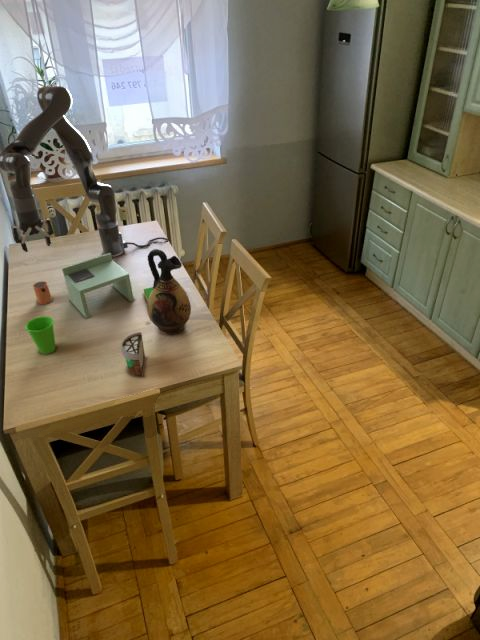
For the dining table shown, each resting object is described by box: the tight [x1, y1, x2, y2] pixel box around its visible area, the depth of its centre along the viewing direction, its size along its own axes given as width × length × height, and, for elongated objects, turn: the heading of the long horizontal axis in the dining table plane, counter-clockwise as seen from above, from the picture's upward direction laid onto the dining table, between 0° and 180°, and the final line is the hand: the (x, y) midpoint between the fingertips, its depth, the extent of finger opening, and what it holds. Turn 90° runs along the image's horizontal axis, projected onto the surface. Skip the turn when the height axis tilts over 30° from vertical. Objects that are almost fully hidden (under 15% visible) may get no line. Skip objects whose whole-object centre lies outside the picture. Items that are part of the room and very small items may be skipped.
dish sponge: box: [143, 286, 153, 302], centre depth 185 cm, size 7×14×2 cm, turn 22°
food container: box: [120, 331, 146, 377], centre depth 149 cm, size 12×6×10 cm, turn 5°
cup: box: [24, 315, 56, 355], centre depth 158 cm, size 9×9×11 cm
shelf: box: [61, 253, 135, 319], centre depth 182 cm, size 20×16×15 cm
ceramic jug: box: [146, 248, 192, 336], centre depth 162 cm, size 17×15×30 cm
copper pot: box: [32, 281, 53, 305], centre depth 185 cm, size 5×8×8 cm
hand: (37, 248), depth 180 cm, fingers open, 8 cm apart
